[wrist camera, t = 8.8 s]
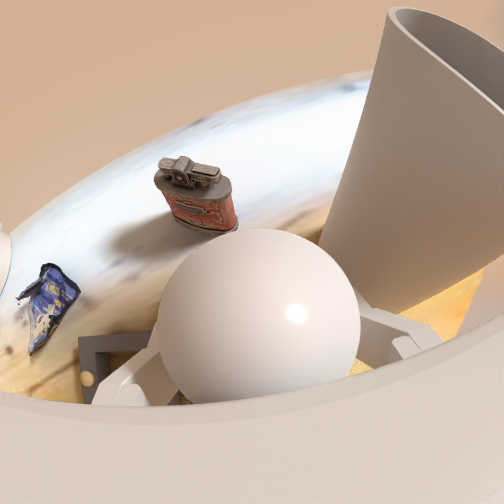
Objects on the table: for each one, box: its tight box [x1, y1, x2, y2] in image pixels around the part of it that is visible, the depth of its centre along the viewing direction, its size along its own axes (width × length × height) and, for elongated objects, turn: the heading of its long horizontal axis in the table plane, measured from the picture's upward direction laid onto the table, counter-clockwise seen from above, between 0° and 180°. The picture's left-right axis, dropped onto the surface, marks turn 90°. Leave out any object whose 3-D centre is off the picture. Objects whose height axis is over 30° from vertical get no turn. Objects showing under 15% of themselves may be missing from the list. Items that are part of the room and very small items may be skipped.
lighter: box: [154, 156, 239, 235], centre depth 28 cm, size 8×3×10 cm, turn 71°
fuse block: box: [78, 331, 181, 406], centre depth 24 cm, size 10×9×4 cm
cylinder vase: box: [317, 6, 504, 314], centre depth 18 cm, size 12×12×25 cm
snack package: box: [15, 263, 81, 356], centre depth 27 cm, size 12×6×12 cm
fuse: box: [157, 228, 361, 404], centre depth 10 cm, size 5×5×10 cm
